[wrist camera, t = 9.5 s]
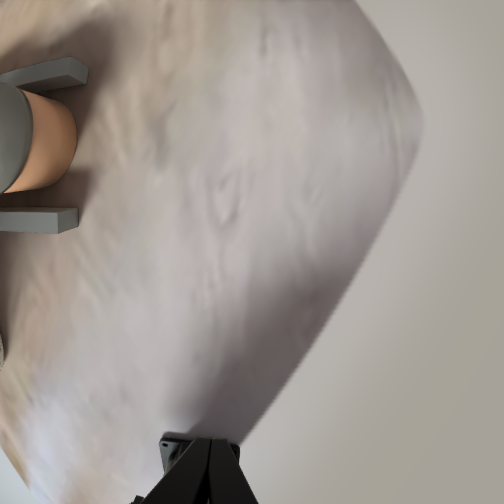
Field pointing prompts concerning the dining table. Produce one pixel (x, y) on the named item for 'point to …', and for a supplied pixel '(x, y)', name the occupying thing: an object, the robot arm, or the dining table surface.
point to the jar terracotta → (33, 140)
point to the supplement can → (1, 353)
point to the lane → (35, 81)
